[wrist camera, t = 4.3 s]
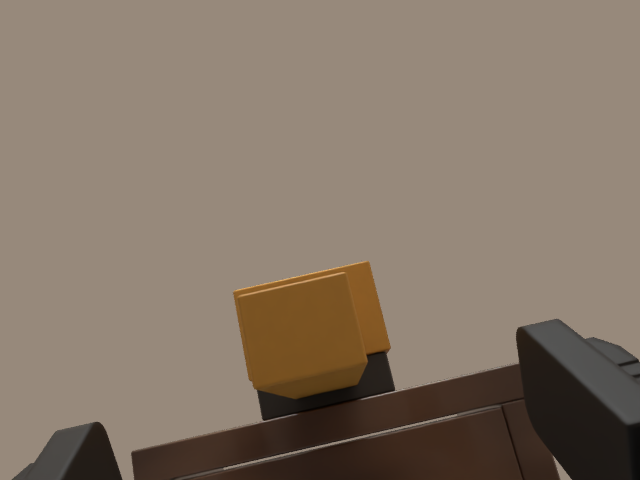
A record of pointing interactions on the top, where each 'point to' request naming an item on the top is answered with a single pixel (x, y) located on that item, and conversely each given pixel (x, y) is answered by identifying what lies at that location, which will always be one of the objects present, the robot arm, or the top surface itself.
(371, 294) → the brush
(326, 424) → the shelf
